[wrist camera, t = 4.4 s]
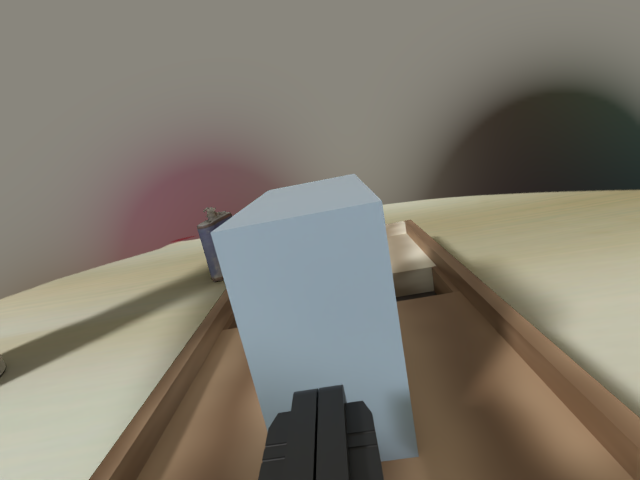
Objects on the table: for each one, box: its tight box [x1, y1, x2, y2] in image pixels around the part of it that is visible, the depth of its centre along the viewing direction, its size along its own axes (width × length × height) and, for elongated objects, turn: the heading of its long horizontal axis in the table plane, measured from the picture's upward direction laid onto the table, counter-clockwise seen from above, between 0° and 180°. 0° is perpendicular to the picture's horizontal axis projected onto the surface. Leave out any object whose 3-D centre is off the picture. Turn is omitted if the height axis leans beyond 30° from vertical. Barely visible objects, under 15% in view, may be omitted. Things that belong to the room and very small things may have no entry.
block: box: [211, 174, 419, 462], centre depth 19 cm, size 6×12×11 cm, turn 179°
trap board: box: [89, 220, 640, 480], centre depth 30 cm, size 22×36×4 cm, turn 179°
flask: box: [197, 207, 232, 282], centre depth 54 cm, size 9×3×11 cm, turn 172°
